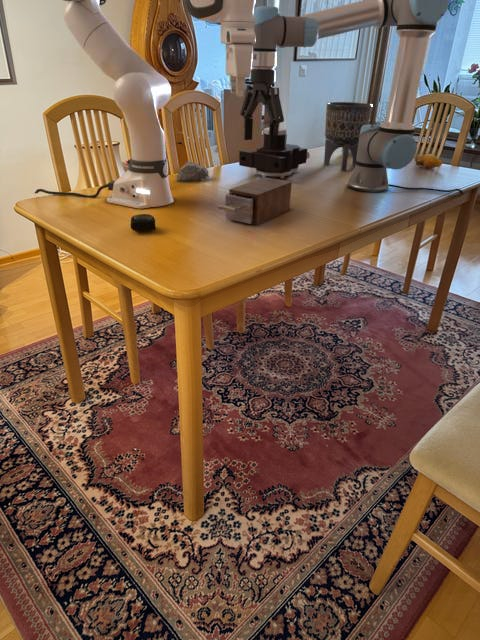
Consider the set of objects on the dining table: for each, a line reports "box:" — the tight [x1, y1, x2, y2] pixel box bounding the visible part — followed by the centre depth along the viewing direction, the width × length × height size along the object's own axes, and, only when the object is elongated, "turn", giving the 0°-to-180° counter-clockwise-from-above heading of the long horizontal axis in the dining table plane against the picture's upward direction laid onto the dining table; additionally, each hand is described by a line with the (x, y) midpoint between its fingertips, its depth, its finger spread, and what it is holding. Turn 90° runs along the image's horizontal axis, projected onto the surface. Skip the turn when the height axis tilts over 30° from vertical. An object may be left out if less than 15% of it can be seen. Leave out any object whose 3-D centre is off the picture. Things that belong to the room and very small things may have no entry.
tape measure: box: [130, 213, 156, 233], centre depth 129 cm, size 7×7×4 cm
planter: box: [323, 101, 374, 172], centre depth 204 cm, size 20×20×26 cm
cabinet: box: [228, 176, 293, 226], centre depth 143 cm, size 20×10×9 cm, turn 145°
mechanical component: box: [238, 127, 311, 179], centre depth 191 cm, size 22×21×30 cm
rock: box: [176, 160, 210, 183], centre depth 181 cm, size 13×9×6 cm, turn 131°
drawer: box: [217, 193, 255, 225], centre depth 138 cm, size 25×9×7 cm, turn 145°
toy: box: [413, 153, 443, 170], centre depth 212 cm, size 11×6×15 cm
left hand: (236, 95), depth 125 cm, fingers open, 8 cm apart
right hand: (259, 142), depth 148 cm, fingers open, 13 cm apart
